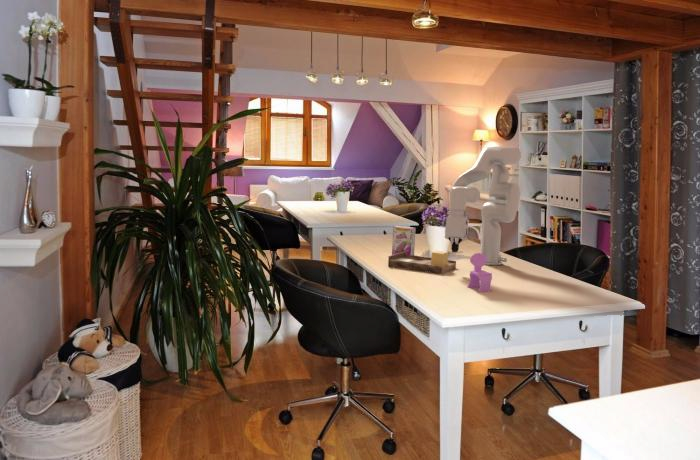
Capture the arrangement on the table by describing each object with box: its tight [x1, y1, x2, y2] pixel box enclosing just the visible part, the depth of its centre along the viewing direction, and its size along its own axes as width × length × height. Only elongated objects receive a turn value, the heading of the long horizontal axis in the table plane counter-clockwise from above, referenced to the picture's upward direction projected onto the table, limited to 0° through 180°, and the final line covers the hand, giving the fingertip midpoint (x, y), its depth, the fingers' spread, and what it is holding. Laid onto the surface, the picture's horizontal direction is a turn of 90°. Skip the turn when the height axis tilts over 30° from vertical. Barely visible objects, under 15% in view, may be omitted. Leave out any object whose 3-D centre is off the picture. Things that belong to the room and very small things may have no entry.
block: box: [430, 250, 449, 266], centre depth 291 cm, size 6×6×6 cm
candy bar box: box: [391, 225, 416, 256], centre depth 320 cm, size 11×5×16 cm, turn 58°
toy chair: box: [467, 252, 493, 293], centre depth 252 cm, size 8×9×15 cm
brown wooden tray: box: [387, 251, 457, 275], centre depth 296 cm, size 28×18×5 cm, turn 58°
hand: (454, 251), depth 286 cm, fingers closed
